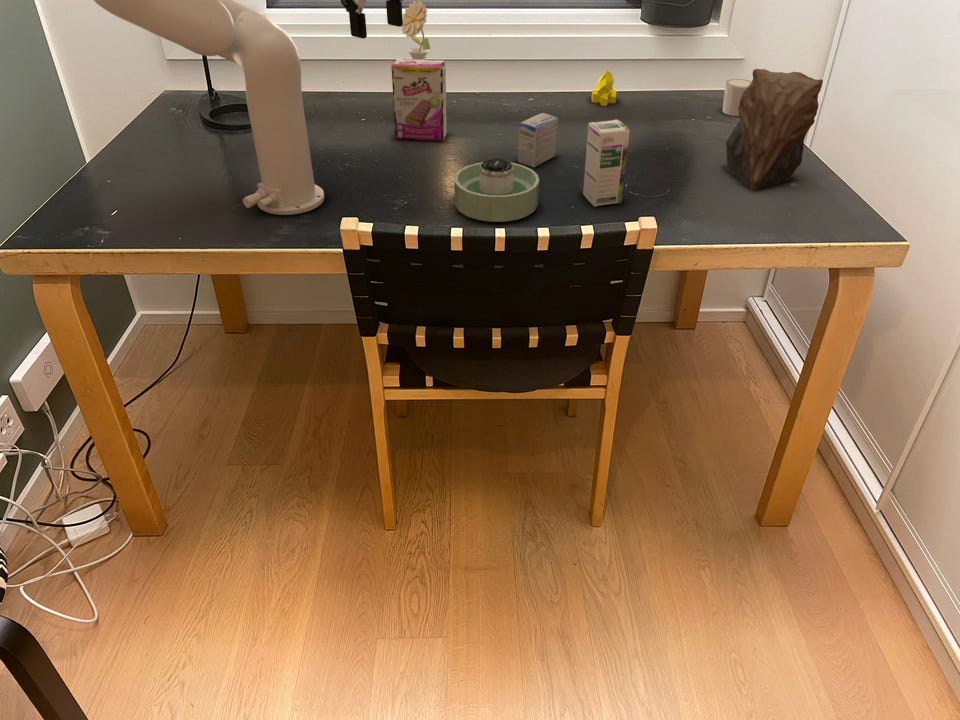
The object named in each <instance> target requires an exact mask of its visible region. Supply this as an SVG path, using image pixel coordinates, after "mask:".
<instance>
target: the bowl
mask: <svg viewBox="0 0 960 720" xmlns="http://www.w3.org/2000/svg"><path fill="white" fill-rule="evenodd" d="M483 162H484V161H483ZM483 162H477V163H473V164H468V165H466V166H464V167H462V168H460V169H459V170H458V171H457V172H456V173H455V174H454V177H453V178H454V179H453V180H454V183H453V184H454V207H455V208H456V209H457V211H458V212H460V213H461V214H462V215H464V216H466V217H468V218H471V219H475V220H477V221H482V222H491V223H495V222H496V223H497V222H498V223H499V222H500V223H501V222H512V221H517V220H520V219H523V218H527V217H528V216H530V215H532V213H534V212H535V211H536V210H537V208H538V207H539V197H540V196H539V195H540V178H539V174H537V173H536V172H535V170H534V169H532V168H531V167H530V168H529V166H528V167H527V165H524V164H520V163H515V162H510V163H511V164H512V165H513V167H514V173H513V194H510V195H485V194H479V190H480V188H479V185H480V166H481V164H482V163H483Z"/></svg>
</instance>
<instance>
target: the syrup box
mask: <svg viewBox="0 0 960 720" xmlns="http://www.w3.org/2000/svg"><path fill="white" fill-rule="evenodd" d="M630 134H631V133H630V128H629V127H628V126H627V125H626V124H624V123H623V122H622V121H621V120H618V119H612V120H605V121H604V120H603V121H595V122H594V121H592V122H588V126H587V140H586V151H585V165H584V175H583V176H584V178H583V189H582V190H583V191H582V195H583V196H584V198H585V199H586V200H587V201H588V203H590V204H591V205H592V207H594V208H595V207H596V208H597V207H600V206H607V205H615V204H621V203H622V201H623V191H624V185H625V184H624V183H625V175H626V167H627V159H628V158H627V157H628V148H629V140H630Z"/></svg>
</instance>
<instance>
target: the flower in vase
mask: <svg viewBox="0 0 960 720" xmlns="http://www.w3.org/2000/svg"><path fill="white" fill-rule="evenodd" d="M427 15H428V9H427V7H426V5H425V4H424V3H423V2H422V1H421V0H418V1H417V2H416V1H415V0H414V1H412V3H409V5H408V7H406V8H405V9H404V13H402V17H403V26H401V32H402V34H403V35H406V38H411V40H412V41H413V42H414V43H416V44H418V45H419V46H413V47H410V48H409V49H407V52H408V54H409V55H410V57H411V59H417V60H426V58H427V55H428V54H429V52H430V50H431V46H430V41H429V38H428V37H426V38H425V33H424V30H423V28H424V26H425V24H426V23H427V19H426V18H427V17H428V16H427ZM420 33H421V34H422V40H421V39H420V38H419V37H418V36H417V35H418V34H420Z"/></svg>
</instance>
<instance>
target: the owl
mask: <svg viewBox="0 0 960 720" xmlns="http://www.w3.org/2000/svg"><path fill="white" fill-rule="evenodd" d="M751 81H752V82H751V83H750V85H749V86H748V88H747V89H746V90H745V91H743V95H742V97H741V99H740V105H739V107H738V111H739V116H738V117H739V121H738V122H736V125H735V126H734V127H733V130H732V132H731V133H730V135H729V136H728V138H727V140H726V141H725V149H726V168H725V170H726V171H727V173H729V174H731V175H732V176H733V178H736V179H737V180H738V181H740V184H741V185H743V186H744V187H747V189H749V190H751V191H753V192H755V191H757V190H761V189H764V188H765V189H766V188H769V187H771V186H778V185H780V184H781V183H782V184H783V183H788V182H790V181H791V180H792V175H793V174H794V173H795V172H796V170H797V169H798V168H799V167H801V164H802V162H803V152H804V146H805V145H804V143H805V139H806V136H807V135H808V132H809V130H810V129H811V128H812V127H813V125H814V123H815V118H816V117H817V114H818V110H819V101H818V100H819V99H818V96H819V93H820V92H821V90H822V88H823V84H824V79H815V78H813V77H810V76H808V75H806V74H805V73H802V72H800V71H799V72H798V71H792V72H783V71H778V72H777V71H770V70H768V69H765V68H755V69H753V70H752V80H751Z"/></svg>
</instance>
